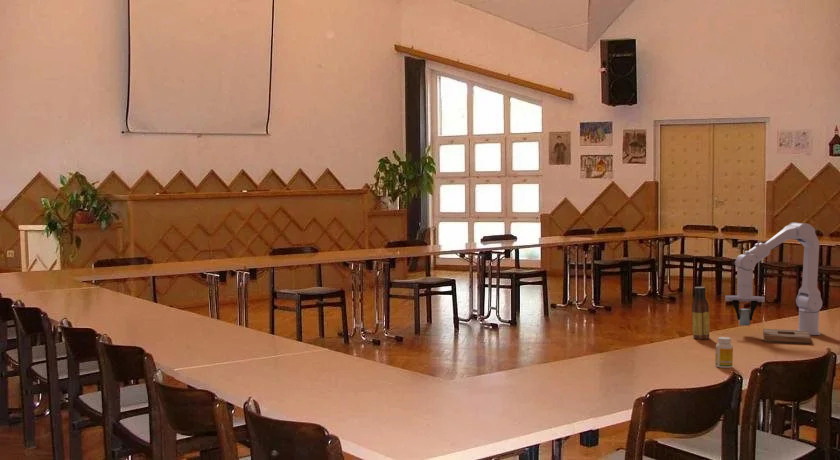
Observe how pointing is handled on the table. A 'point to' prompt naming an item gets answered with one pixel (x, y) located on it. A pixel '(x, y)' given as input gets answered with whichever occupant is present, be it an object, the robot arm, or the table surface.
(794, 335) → the walnut socket block
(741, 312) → the slate pin
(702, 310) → the sauce bottle
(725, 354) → the supplement bottle
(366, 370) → the table surface
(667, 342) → the table surface
